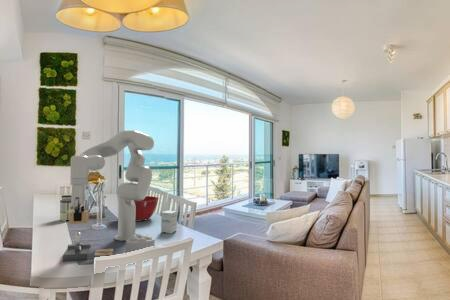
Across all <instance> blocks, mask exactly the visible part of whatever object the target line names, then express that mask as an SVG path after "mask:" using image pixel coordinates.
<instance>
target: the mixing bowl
mask: <svg viewBox="0 0 450 300" xmlns="http://www.w3.org/2000/svg"><path fill="white" fill-rule="evenodd" d="M158 202H159V197H157V196H151V195H149V196H148V195H146V197H145V199H143V200H141V201H137V200H134V203H135V206H136V219H135V220H145V219H148V218H149V219H150V218H151V217H152V216H153V214H154V212H155V210H156V208H157V205H158ZM149 219H148V220H149ZM145 221H146V220H145Z"/></svg>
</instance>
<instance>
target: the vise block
mask: <svg viewBox="0 0 450 300" xmlns="http://www.w3.org/2000/svg"><path fill="white" fill-rule="evenodd" d="M74 239H75V240H74V243H72V244H68V245H67V249H66V250H65V251H64V253H63V254H62V262H63V263H66V262H77V261H88V259H89V257H90V255H91V252H92V242H88V243H85V242H84V243H81V240H82V233H81V232H74Z"/></svg>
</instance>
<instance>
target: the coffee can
mask: <svg viewBox="0 0 450 300" xmlns="http://www.w3.org/2000/svg"><path fill="white" fill-rule="evenodd" d="M59 202H60V204H59V207H60V210H59V221H60V220H62V221H61V222H67V221H66V220H69V218H70V212H72V211H74V206H73V207H71V198H66V199H64V198H63V199H60V200H59Z"/></svg>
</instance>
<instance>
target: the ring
mask: <svg viewBox="0 0 450 300" xmlns="http://www.w3.org/2000/svg"><path fill="white" fill-rule="evenodd" d="M81 212H82V213H81V221H74V211H72V212H70V218H69V221H68V224H70V225H71V224H74V225H75V224H87V223H88V222H89V216H90V215H89V213H90V211H89V209H88V210H87V209H84V210H81Z"/></svg>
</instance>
